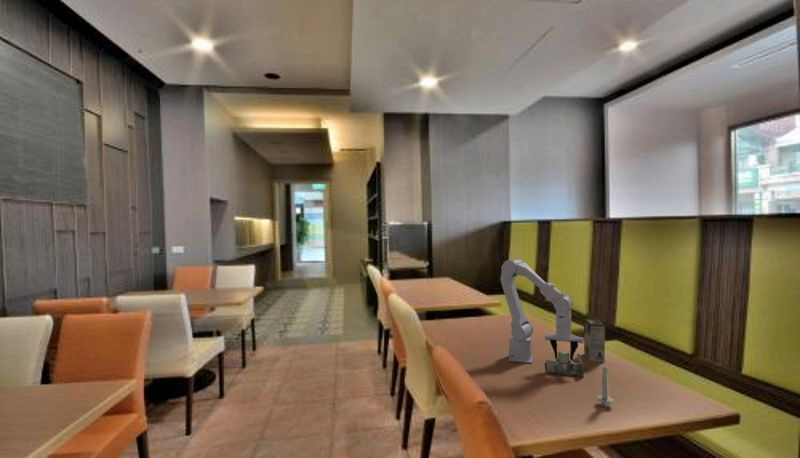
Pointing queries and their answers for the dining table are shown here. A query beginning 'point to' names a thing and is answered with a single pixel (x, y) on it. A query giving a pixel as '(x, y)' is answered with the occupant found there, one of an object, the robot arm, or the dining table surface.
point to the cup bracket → (566, 368)
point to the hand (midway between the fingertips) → (563, 358)
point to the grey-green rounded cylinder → (563, 357)
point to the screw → (605, 391)
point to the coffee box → (594, 340)
